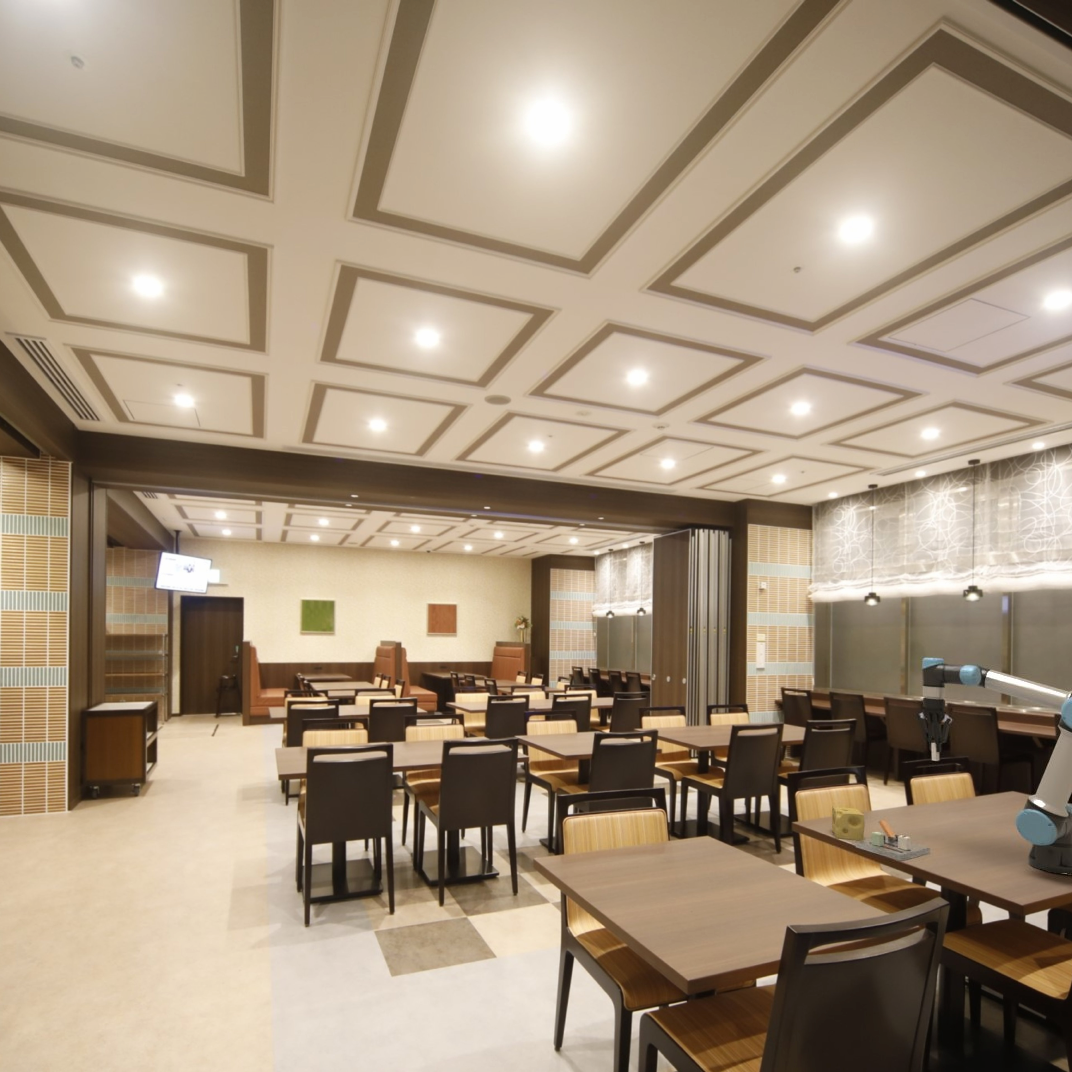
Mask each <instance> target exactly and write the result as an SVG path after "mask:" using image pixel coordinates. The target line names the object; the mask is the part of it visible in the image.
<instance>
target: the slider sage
mask: <svg viewBox="0 0 1072 1072" xmlns="http://www.w3.org/2000/svg"><path fill="white" fill-rule="evenodd" d="M870 835H871V837H870V838H871V844H873V845H877V846H883V845H884V835H885V834H884V833H882V832H880V831H873V832H871V834H870Z"/></svg>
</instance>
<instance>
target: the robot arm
mask: <svg viewBox="0 0 1072 1072" xmlns="http://www.w3.org/2000/svg"><path fill="white" fill-rule="evenodd" d="M921 667H922V668H921V673H922V676H921V677H922V696H923V698H922V707H923V709H922V712H920V713H918V714H916V715H915V716H916V718H917V719H918V722H919V726H920V731H921V733H922V738H923V740H924V741H927V742H928V748H929V751H930V752H931V761H935V762H938V761H940V753H942V744H943V743H947V741H948V737H949V733H950V728H951V724H952V723H953V721H954V719H953V717H950V716H948V715H947V711H946V700H945V698H946V692H945V691H946V689H945V687H946V686H945V684H946V685H947V684H950V685H960V686H966V687H970V686H971V687H972V686H974V687H980V688H983V689H987V690H991V691H994V692H997V693H1001V694H1004V695H1006V696H1010V697H1013V698H1017V699H1020V700H1024V701H1027V702H1031V703H1033V704H1036V705H1039V706H1043V707H1045V708H1049V709H1052V710H1054V711H1055V710H1056V711H1059V712H1060V720H1059V721H1058V725H1057V727H1058V728H1059V730H1060V733H1059V734H1060V735H1059V737H1058V739H1057V742H1056V744H1055V746H1054V749H1053V751H1052V754H1051V756H1050V759H1049V762H1048V763H1047V766H1046V768H1045V770H1044V773H1043V775H1042V777H1041V780H1040V783H1039V784H1038V787H1037V790H1036V793H1035V794H1032V795H1028V797H1027V800H1026V802H1025V805H1024V807H1023V809H1022V810H1021V811H1019V812H1018V813H1017V815H1016V817H1015V827H1016V830H1017V831H1018V833H1019V834H1020V836H1021V837H1022V838H1023V839H1025V840H1026V841H1028V842H1029V843H1031V844H1032V845H1031V847H1030V849H1029V853H1028V857H1027V859H1028V860H1027V862H1028V864H1029V865H1030V866H1031V867H1033V868H1036V869H1038V870H1040V869H1042V870H1041V871H1044V870H1045V871H1044V872H1047V871H1050V872H1049V873H1051V872H1056V873H1067V874H1072V806H1071V805H1070V804H1069V803H1068V802H1069V799H1070V797H1071V795H1072V690H1070V691H1067V690H1065V689H1061V688H1057V687H1054V686H1051V685H1047V684H1043V683H1039V682H1037V681H1033V680H1028V679H1027V678H1026V679H1025V678H1022V677H1019V676H1016V675H1011V674H1008V673H1006V672H1005V673H1004V672H1000V671H999V670H998V671H997V670H994V669H990V668H987V667H985V666H982V665H980V664H949V663H945V659H943V658H938V657H924V658H922V665H921ZM926 720H927V721H926ZM943 721H944V723H943ZM942 725H943V727H942ZM1056 873H1055V874H1056Z"/></svg>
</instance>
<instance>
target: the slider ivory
mask: <svg viewBox="0 0 1072 1072" xmlns="http://www.w3.org/2000/svg"><path fill="white" fill-rule="evenodd" d="M910 842H911V837H909V836H907V835H899V836H898V848H900V849H904V850H909V849H911V844H910Z"/></svg>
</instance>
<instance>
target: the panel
mask: <svg viewBox="0 0 1072 1072" xmlns="http://www.w3.org/2000/svg"><path fill="white" fill-rule="evenodd" d="M894 835H895V837H896V838H897V840H895V841H894V837H890V836H889V837H887V835H886V834H884V845H883V846H877V845H873V844H871V837H869V838H865V839H864V838H863V840H860V841H858V840H855V843H854V844H855V847H854V848H857V849H860V850H864V851H867V852H870V853H873V854H875V855H879V856H882V857H887V858H889V859H893V860H895V861H900V862H903V861H907V860H910V859H914V858H916V857H921V856H925V855H929V854H930V853H931V852H930V850H931V848H930V846H926V845H922V844H919V843H915V842H912V841H910V844H911V849H909V850H904V849H900V848H898V836H900V834H899V835H898V834H894Z"/></svg>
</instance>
